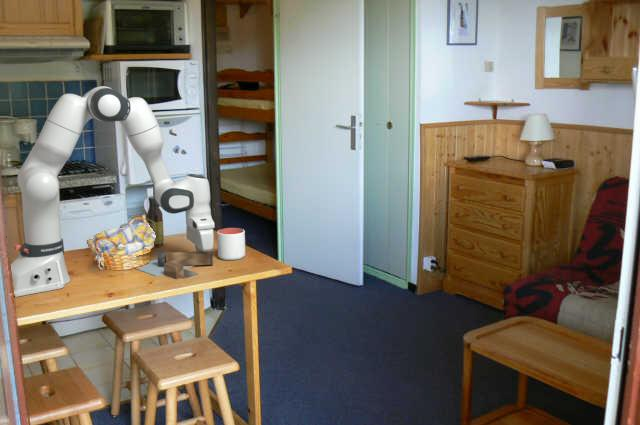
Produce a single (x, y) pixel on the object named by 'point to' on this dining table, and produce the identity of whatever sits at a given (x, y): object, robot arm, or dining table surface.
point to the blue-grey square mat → (156, 268)
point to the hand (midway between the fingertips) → (199, 256)
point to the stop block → (177, 271)
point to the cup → (231, 243)
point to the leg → (185, 258)
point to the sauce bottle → (156, 221)
